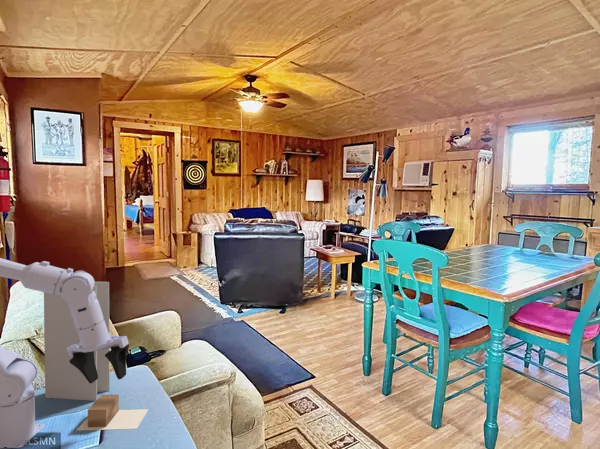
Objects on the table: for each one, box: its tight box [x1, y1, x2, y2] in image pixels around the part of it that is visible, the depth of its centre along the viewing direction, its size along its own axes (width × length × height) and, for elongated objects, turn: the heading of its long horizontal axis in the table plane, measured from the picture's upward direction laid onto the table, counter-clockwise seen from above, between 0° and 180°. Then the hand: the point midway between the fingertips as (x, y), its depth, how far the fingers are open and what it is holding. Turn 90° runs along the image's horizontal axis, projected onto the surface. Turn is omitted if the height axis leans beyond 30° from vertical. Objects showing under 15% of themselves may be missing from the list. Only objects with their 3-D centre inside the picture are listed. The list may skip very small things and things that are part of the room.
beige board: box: [76, 408, 149, 431], centre depth 86 cm, size 13×8×1 cm, turn 94°
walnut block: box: [87, 394, 120, 427], centre depth 86 cm, size 7×4×4 cm, turn 4°
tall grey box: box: [43, 281, 111, 402], centre depth 97 cm, size 14×6×30 cm, turn 84°
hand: (108, 379), depth 85 cm, fingers open, 7 cm apart
